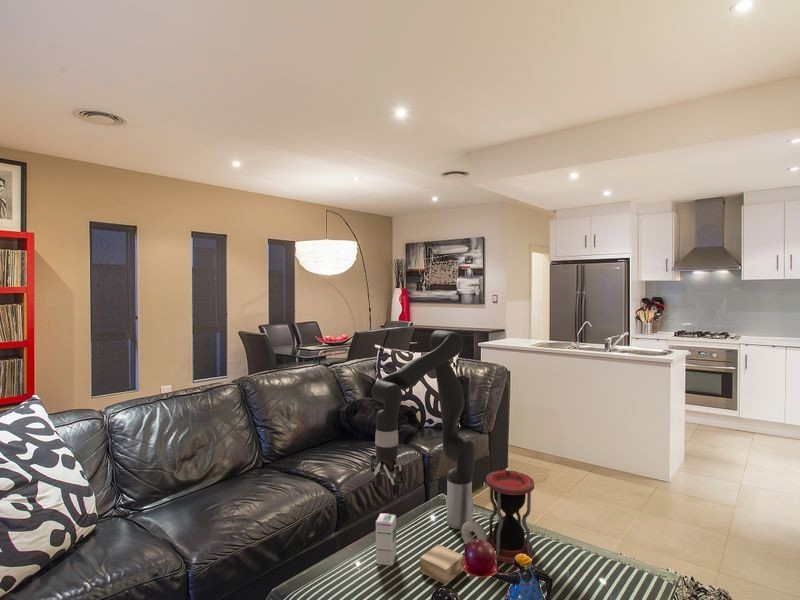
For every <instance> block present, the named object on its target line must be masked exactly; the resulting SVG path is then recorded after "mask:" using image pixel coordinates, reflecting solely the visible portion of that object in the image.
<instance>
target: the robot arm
mask: <svg viewBox="0 0 800 600" xmlns="http://www.w3.org/2000/svg"><path fill="white" fill-rule="evenodd" d="M429 347H430V348H429V349H430V351H429V352H428V353H425V354H422V355H421V356H418V357H415V358H413V359H411V360H409V361H408V362H407V363H405V364H404V365H403V366H401V367H400V368H399V369H398V370H396V371H395V372H393V373H390V374H388V375H385V376H384V377H382V378H380V379H378V380H377V381H376V382H375V383H374V384H373V386H372V389H371V396H372V398H373V400H374V401H376V402H379V403H382V404H384V405H383V406H384V407H383V409H380V410H378V411H377V413H376V415H375V435H374V436H375V437H374V438H375V439H374V440H375V441H374V444H375V451H374V453H373V454H371V455H370V472H371V473H373V474H374V483H375V487H377V488H379V487H382V484H383V475H382V473H384V474H386V475H387V478H388V479H390V482H391V495H392V496H393V497H395V496H397V495H399V493H400V485H401V484H404V482H405V479H404V478H405V477H404V465H403V464H402V463H401V464H398V463H397V458H398V456H399V432H398V416H399V412H400V409H401V405H402V402H403V391H402V390H408V389H409V388H411V387H413V386H414V385H415V384H416V383H417V382H418V381H420V380H421V379H423V377H424V376H426V375H427V374H428V373H430V372H431V371H433V370H434V371H435V377H436V383H437V384H436V385H437V391H438V393H437V394H438V399H439V407H440V414H441V416H440V417H441V425H442V426H441V427H442V428H441V429H442V451H443V454H444V456H445V458H447V459H448V460H451V461H452V462H455V463H457V464H456V467H455V468H451V469H449V470H448V471H447V479H446V480H447V483H446V484H447V485H446V486H447V489H446V490H447V491H446V492H447V493H446V495H447V496H446V498H447V499H446V525H447V526H448V527H449V528H452V529H453V530H461V531H462V526H463V525H464V523H466V522H467V521H471V520H472V521H474V519H473V518H474V498H473V497H472V490H473V489H472V488H473V487H472V484H473V483H472V481H473V475H474V471H475V459H476V458H475V456H476V449H475V444H474V443H473V441H472V440H469V439H468V438H463V437H461V436H460V435H459V432H458V422H459V419H460V417H461V415H462V414H463V411H464V407H465V398H464V397H465V396H464V389H463V386H462V384H461V382H460V380H459V378H458V377H457V374H456V373H455V372H454V369H453V366H452V365H451V362H450V360H452V359H453V358H455V357H457V356H458V355H460V353H461V352H462V350H463V347H464V339H463V336H462V335H461V334H460V333H459V332H456V331H449V330H444V329H443V330H442V329H439V330H438V329H437V330H436V329H435V331H433V332H432V333H431V336H430V339H429Z"/></svg>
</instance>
